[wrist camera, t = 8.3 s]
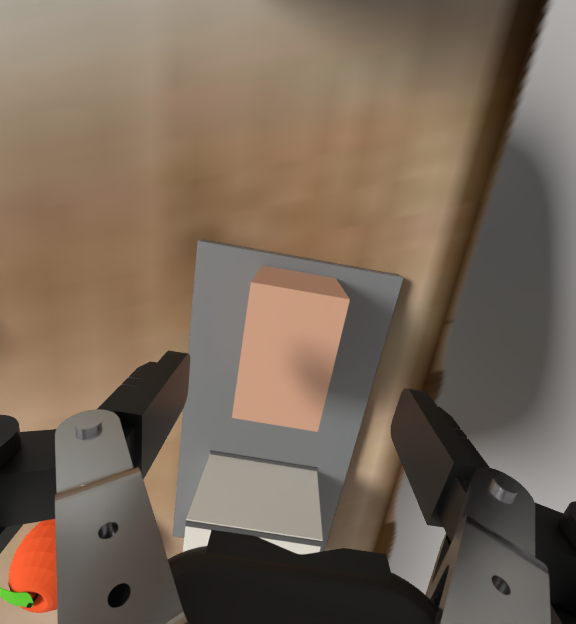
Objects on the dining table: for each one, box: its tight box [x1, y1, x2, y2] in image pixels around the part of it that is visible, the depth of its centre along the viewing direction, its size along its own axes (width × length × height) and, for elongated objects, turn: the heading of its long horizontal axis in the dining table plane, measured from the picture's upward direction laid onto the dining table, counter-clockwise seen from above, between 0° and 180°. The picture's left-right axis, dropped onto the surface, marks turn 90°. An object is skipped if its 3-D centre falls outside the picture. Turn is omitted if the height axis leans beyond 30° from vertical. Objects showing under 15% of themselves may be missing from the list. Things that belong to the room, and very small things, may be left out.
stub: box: [232, 265, 350, 432], centre depth 19 cm, size 8×5×6 cm, turn 170°
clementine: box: [0, 519, 57, 613], centre depth 26 cm, size 8×7×7 cm
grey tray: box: [173, 240, 403, 554], centre depth 22 cm, size 27×14×7 cm, turn 170°
